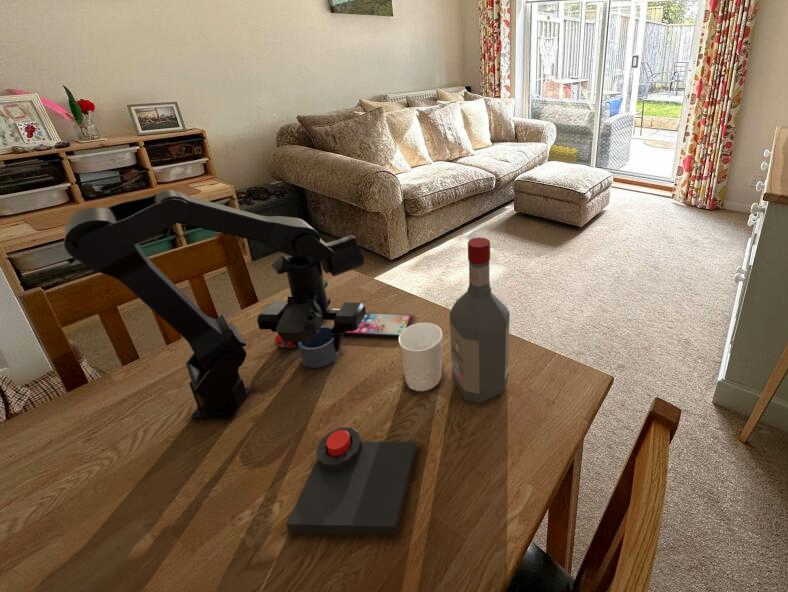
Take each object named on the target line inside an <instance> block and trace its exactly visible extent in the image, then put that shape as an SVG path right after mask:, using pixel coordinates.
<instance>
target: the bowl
mask: <svg viewBox="0 0 788 592" xmlns="http://www.w3.org/2000/svg"><path fill="white" fill-rule="evenodd" d="M332 328H333V326H329V325H322V326H321V329H320V331H319V333H317V334H312V335H311V337H309V339H308V340H307V341H305V342H298V347H299V350H298V351H299V357H300V359H301V360H300V361H301V363H302V364H303V366H305V367H307V368H312V369H319V368H324V367H326V366H328V365H330V364H332V363H333V362H334V361H335V360H336V359H337V358H338V356H339V355H340V350H339V351H338V352H336V350H335V346H334V338H333V334H332V333H330V331H331V329H332Z"/></svg>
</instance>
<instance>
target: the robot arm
mask: <svg viewBox="0 0 788 592" xmlns="http://www.w3.org/2000/svg"><path fill="white" fill-rule="evenodd" d="M65 224H66V225H65V227H64V238H63V239H64V241H63V245H64V249H65V251H66V253H67V254H68V255H69V256H70V257H72V258H73V259H75V260H76V261H78V262H79V263H81V264H83V265H85V266H87V267H88V268H89V269H92V270H94V271H95V272H97V273H100V274H103V275H105V276H108V277H109V278H112V279H115V280H118V281H119V282H121V284H123V285H124V286H125V287H126V288H127V289H128V290H129V291H130V292H131V293H133V295H135V296H136V297H137V298H138V299H140V300H141V301H142V302H143V303H144V304H145V305H146V306H147V307H148V308H150V309H151V310H152V311H153V312H154V313H155V314H156V315H158V316H159V317H160V318H161V319H162V320H163V321H164V322H166V323H167V324H168V325H169V326H170V327H171V328H172V329H173V330H174V331H176V333H178V334H179V335H180V336H181V337H182V338H183V339H184V340H186V342H187V344H188V345H189V347H190V348H191V350H192V352H193V353H192V354H191V356H190V357H189V358H188V360H187V361H186V362H185V366H186V369H187V373H188V375H189V378H190V382H189V383H188V384H189V387H190V389H191V392H192V395H193V398H194V401H195V404H196V407H197V408H196V409H195V410H194V412H193V413H192V414H191V419H193V420H229V419H231V418H232V416H233V415H234V414H235V412H236V411H237V410H238V408H239V407H240V406H241V405H242V403H243V402H244V401H245V400H246V398H247V397H248V396H249V394H250V393H251V391H252V388H251V387H250V386H249V387H248V386H245V383H244V379H243V378H242V377H241V376H240V372H239V369H240V367H241V366H242V365H243V364H244V362H245V361H246V358H247V351H246V349H245V347H246V346H247V342H246V341H245V339H244V337H243V335H242V334H241V332H240V330H239V328H238V326H237V325H235V324H232V323H230V321H229V320H228V319H227V317H226V315H225V314H224V313H223V314H221V315H220V316H219V317H217V318H213V317H211V316H208V315H207V314H206V313H204V311H202V310H201V309H200V308H199V307H198V306H197V305H196V303H194V302H193V301H192V300H191V299H190V298H189V297H188V296H187V295H186V294H185V293H184V292H183V291H182V290H181V289H180V288H179V287H178V286H177V285H176V284H175V283H174V282H173V281H172V280H171V279H170V278H168V276H167V275H166V274H165V273H164V272H162V270H161V269H160V268H159V267H158V266H156V265H155V263H153V261H152V260H151V259H149V258H148V257H147V255H146V253H145V252H144V251H143V248H142V247H141V245H140V243H142V242H144V241H146V240H148V239H150V238H151V237H153V236H155V235H156V234H158V233H160V232H162V231H163V230H165V229H167V228H169V227H171V226H174V225H177V224H180V225H183V226H189V227H193V228H197V229H203V230H206V231H211V232H215V233H220V234H224V235H229V236H233V237H237V238H243V239H247V240H251V241H256V242H259V243H262V244H264V245H267V246H268V247H270V248H272V249H274V250H276V251H278V252H280V253H282V254H279V256H278V257H277V259H276V260H275V261H274V262H273V263H272V264H271V267H272V268H273V270H274V271H275V272H276V273H277V274H278V275H282V274H285V273H286V277H287V280H288V285H289V289H290V293H289V294H288V295H287V300H272V301H271V302H270V303H269V304H268V305H267V306H265V308H264V309H263V310H262V311H261V312H260V314H258V315H257V319H256V322H257V326H258V328H259V330H270V331H271V332H273V333H277V334H279V336H280V337H281V339H282V340H283V341H284V342H289V341H292V343H293V344H294V345H295V346H296V347H295V348H296V349H297V350H298V351H299V347H298V342H305V341H307V340H308V339H309V337H311V335H312V334H317V333H319V331H320V329H321V326H323V324H324V321H333V326H332V329H331V331H330V333H332V334H333V338H334V346H335V350H336V352H338V351H339V352H340V349H341V347H342V343H343V340H344V336H345V335H344V333H346V332H347V331H355V330H357V329H358V327H359V325H360V323H361V321H362V320H363V318H364V316H365V314H366V313H367V310H366V306H365V305H364V303H362V302H345V301H344V302H343V304H342V305H341V307H340V308H329V306H330V304H332V303H331V302H332V300H331V298H329V297H327V292H326V288H327V287H328V285H329V284H328V280H324V275H323V271H324V273H326V274H330V275H331V276H332V277H336V276H339V275H342V274H344V273H347V272H350V271H352V270H356V269H358V268H362V267H363V266H364V264H365V258H364V257H365V256H364V254H362V251H361V248H360V246H359V244H358V242H357V238H356V236H354V235H352V234H349V235H346V236H344V237H342V238H339V239H336V240H332V241H329V242H325V240H323V239H321V235H320V234H319V232H318V231H317V230H316V229H315V228H314V227H312V226H311V225H310V224H309V223H308V222H306V221H305V220H303V219H302V218H299V217H292V216H283V215H273V216H272V215H271V216H270V215H269V216H268V215H262V214H256V213H253V212H249V211H246V210H242V209H239V208H235V207H231V206H228V205H224V204H221V203H217V202H213V201H209V200H205V199H202V198H199V197H194V196H190V195H186V194H184V193H182V192H181V191H178V190H172V189H168V190H167V189H166V190H163V191H161V192H159V193H155V194H153V195H149V196H144V197H140V198H136V199H131V200H130V199H129V200H126V201H122V202H118V203H116V204H113V205H110V206H106V207H99V206H98V207H97V206H95V207H87V208H83V209H80V210H78V211H76V212H75V213H73V214H71V215H70V217H69V218H68V219H67V221H66V223H65ZM283 254H285V255H287V256H285V255H283Z"/></svg>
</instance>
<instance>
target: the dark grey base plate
mask: <svg viewBox="0 0 788 592" xmlns="http://www.w3.org/2000/svg"><path fill="white" fill-rule="evenodd" d="M339 430H345V431H347V432H348V433H349V436H350V442H351V444H350V447H349V449H348V450H347V452H345V453H344V454H342V455H340V456H331V455H330V454H329V453H328V450H327V445H326V442H327V439H328V437H329V436H330V435H331V434H332V433H334V432H336V431H339ZM416 454H417V442H415V441H380V440H379V441H378V440H377V441H375V440H362V437H361V433H360V432H359V431H358V430H357V429H355V428H353V427H347V426H345V427H344V426H342V427H338V428H336V429H334V430H331V431H330V432H328V433H327V434H326V435H325V436H324V437H323V438H322V439H320V441H319V444H318V445H317V448H316V458H317V460H316V462H315V463H314V466H313V468H312V469H311V472H310V474H309V476H308V478H307V480H306V482H305V484H304V486H303V489H302V491H301V492H300V495H299V497H298V499H297V501H296V503H295V505H294V507H293V510H292V512H291V514H290V516H289V518H288V520H287V522H286V529H287V531H288V534H297V535H298V534H299V535H303V534H305V535H351V536H352V535H353V536H354V535H355V536H397V532H398V529H399V524H400V520H401V515H402V512H403V508H404V503H405V500H406V496H407V491H408V487H409V484H410V480H411V479H410V478H411V475H412V470H413V466H414V463H415V458H416Z"/></svg>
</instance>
